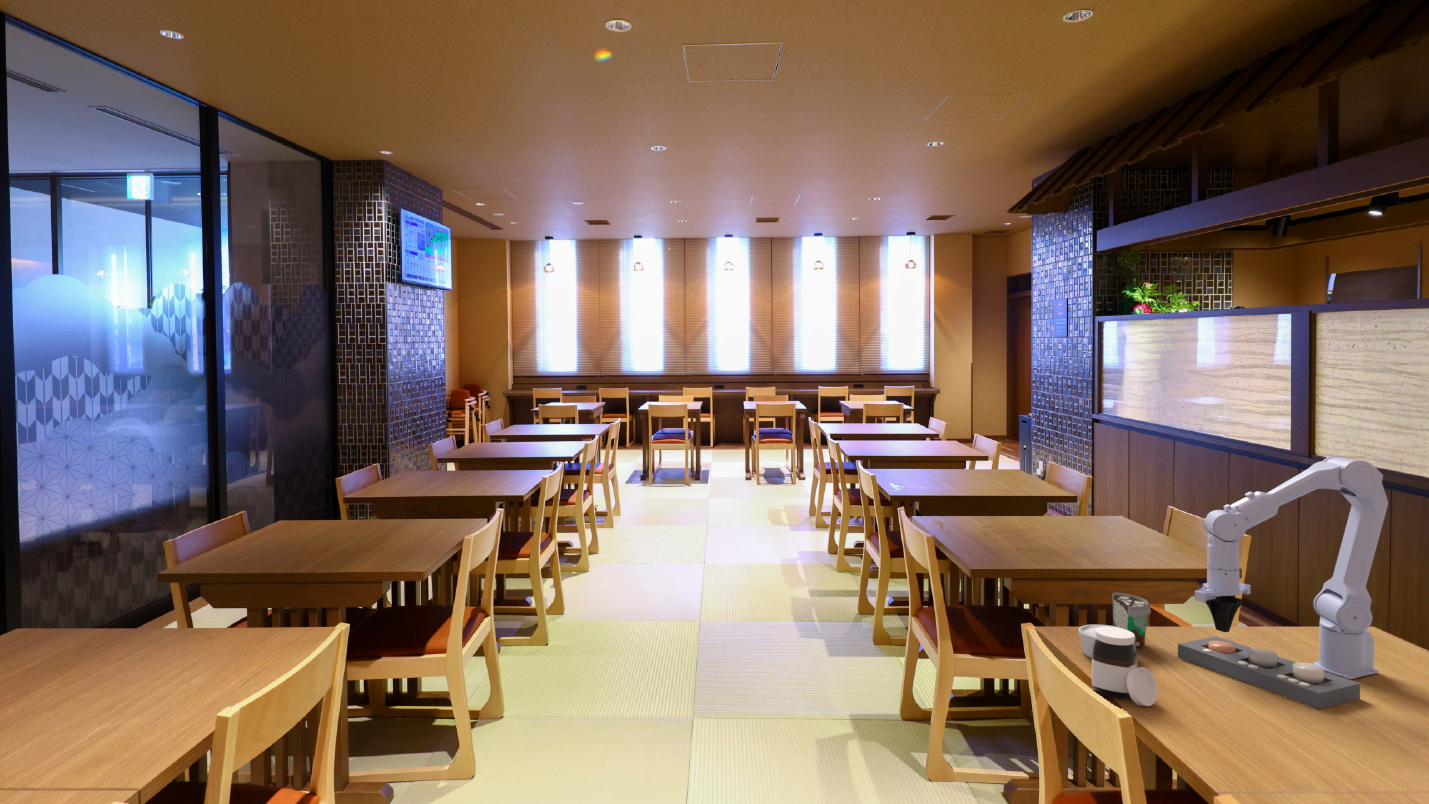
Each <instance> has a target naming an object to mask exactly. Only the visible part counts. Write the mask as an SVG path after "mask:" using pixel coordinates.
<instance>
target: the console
mask: <svg viewBox="0 0 1429 804" xmlns="http://www.w3.org/2000/svg"><path fill="white" fill-rule="evenodd" d="M1210 641H1223V642H1227V643H1231V644H1233V645H1235V653H1231V654H1226V655H1225V654H1222V653H1220V652H1217V651H1214V650H1211V649H1208V645H1209V642H1210ZM1251 648H1252V647H1250V646H1247V645H1243V644H1241V643H1238V642H1234V641H1231V640H1229V639H1226V638H1223V637H1219V636H1211V637H1206V638H1201V639H1196V640H1189V641H1186V642H1180V643H1177V658H1178V659H1182V660H1184V661H1187V662H1189V663H1192V664H1195V665H1198V666H1200V667H1202V666H1203V668H1206V669H1208V670H1211V671H1213V672H1216V671H1217V672H1216V673H1218V674H1221V675H1224V674H1225V675H1224V676H1226V677H1229V676H1231V677H1230V678H1232V677H1233V679H1235V680H1238V681H1241V682H1243V681H1244V683H1245V684H1248V685H1252V686H1254V687H1256V686H1257V688H1260V689H1261V690H1262V689H1263V690H1265V689H1266V690H1265V691H1267V690H1268V692H1270V691H1272V692H1271V693H1273V692H1274V693H1273V694H1275V693H1276V695H1278V694H1280V695H1279V696H1281V695H1282V696H1281V697H1284V696H1286V697H1287V699H1289V698H1290V699H1289V700H1292V699H1294V700H1295V702H1297V701H1299V702H1298V703H1300V702H1301V703H1300V704H1302V703H1303V704H1302V705H1305V704H1306V706H1308V707H1311V708H1314V709H1317V710H1322V709H1327V708H1331V707H1335V706H1339V705H1342V704H1346V703H1350V702H1353V701H1357V700H1356V699H1358V700H1360V699H1361V683H1360V682H1357V681H1354V680H1353V679H1347V678H1344V677H1341V676H1338V675H1335V674H1332V673H1329V672H1326V671H1324V682H1323V683H1319V684H1315V683H1308V682H1304V681H1301V680H1298V679H1295V678H1294V677H1293V676H1292V675H1293V663H1297V662H1296V661H1294V660H1290V659H1287V658H1284V657H1281V656H1278V659H1277V667H1274V668H1267V667H1261V666H1257V665H1254V664H1251V663H1250V662H1249V661H1248V655H1249V649H1251ZM1286 697H1285V698H1286ZM1294 700H1293V701H1294Z"/></svg>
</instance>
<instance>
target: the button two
mask: <svg viewBox="0 0 1429 804" xmlns="http://www.w3.org/2000/svg"><path fill="white" fill-rule="evenodd" d="M1250 648H1251V649H1249V655H1248V661H1249V662H1250V663H1251V664H1254V665H1257V666H1261V667H1267V668H1274V667H1277V659H1278V657H1279V656H1278V653H1277V652H1276V651H1275V652H1274V651H1272V650H1271V649H1270V650H1269V649H1265V648H1257V647H1255V648H1254V647H1250Z"/></svg>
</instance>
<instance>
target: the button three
mask: <svg viewBox="0 0 1429 804" xmlns="http://www.w3.org/2000/svg"><path fill="white" fill-rule="evenodd" d="M1324 672H1325V671H1324V669H1323V668H1321V667H1319V666H1316V665H1313V664H1309V663H1307V662H1296V663H1293V675H1292V676H1293V677H1294V678H1295V679H1298V680H1301V681H1304V682H1308V683H1315V684H1319V683H1323V682H1324Z"/></svg>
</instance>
